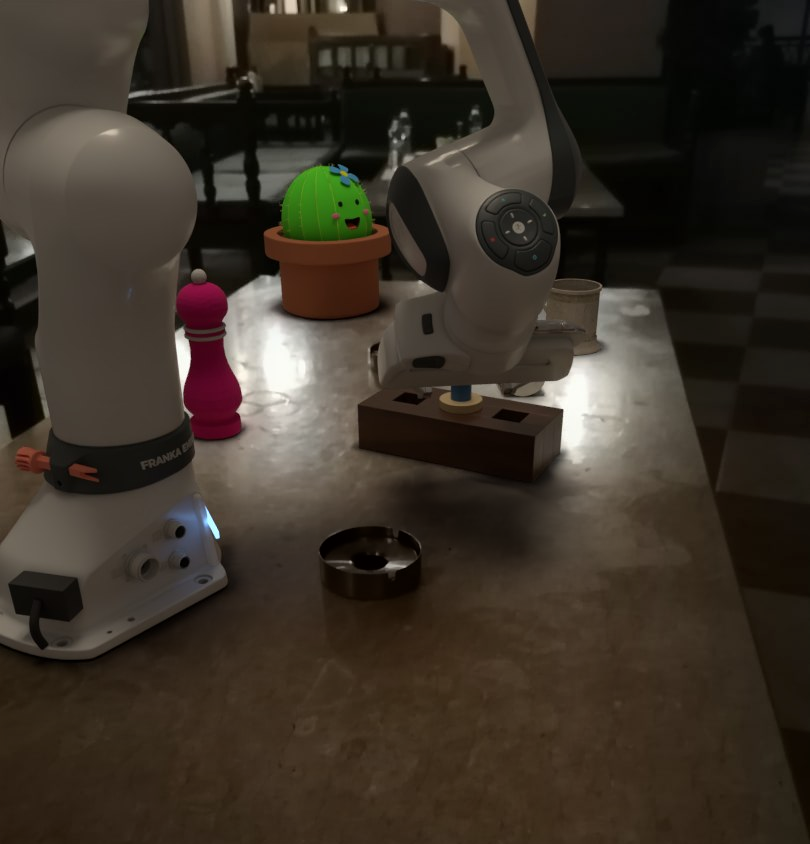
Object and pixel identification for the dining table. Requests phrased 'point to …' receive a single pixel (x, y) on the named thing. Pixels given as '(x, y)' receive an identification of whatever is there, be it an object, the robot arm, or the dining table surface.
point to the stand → (463, 432)
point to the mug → (576, 309)
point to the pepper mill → (208, 361)
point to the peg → (460, 400)
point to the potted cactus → (327, 246)
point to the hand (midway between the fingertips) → (465, 390)
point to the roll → (529, 389)
